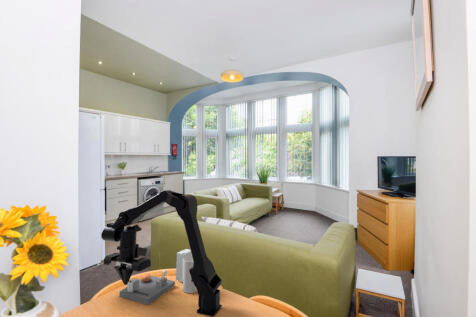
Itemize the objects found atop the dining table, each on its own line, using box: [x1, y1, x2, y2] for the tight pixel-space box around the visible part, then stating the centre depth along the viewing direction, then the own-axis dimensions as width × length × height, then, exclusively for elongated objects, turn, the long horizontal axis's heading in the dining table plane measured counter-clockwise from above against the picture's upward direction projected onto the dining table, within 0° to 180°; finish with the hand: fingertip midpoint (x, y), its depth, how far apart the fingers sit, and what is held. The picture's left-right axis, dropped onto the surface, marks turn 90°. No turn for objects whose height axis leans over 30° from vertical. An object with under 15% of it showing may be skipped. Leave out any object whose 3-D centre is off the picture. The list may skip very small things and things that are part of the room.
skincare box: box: [175, 248, 192, 283], centre depth 97 cm, size 6×4×12 cm
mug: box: [182, 256, 197, 294], centre depth 90 cm, size 10×7×12 cm, turn 175°
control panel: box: [119, 275, 176, 306], centre depth 86 cm, size 14×14×4 cm
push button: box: [141, 274, 151, 282], centre depth 90 cm, size 3×3×2 cm
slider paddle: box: [127, 278, 140, 293], centre depth 83 cm, size 2×3×4 cm
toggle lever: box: [159, 269, 168, 284], centre depth 87 cm, size 2×2×6 cm
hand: (125, 284), depth 84 cm, fingers closed
